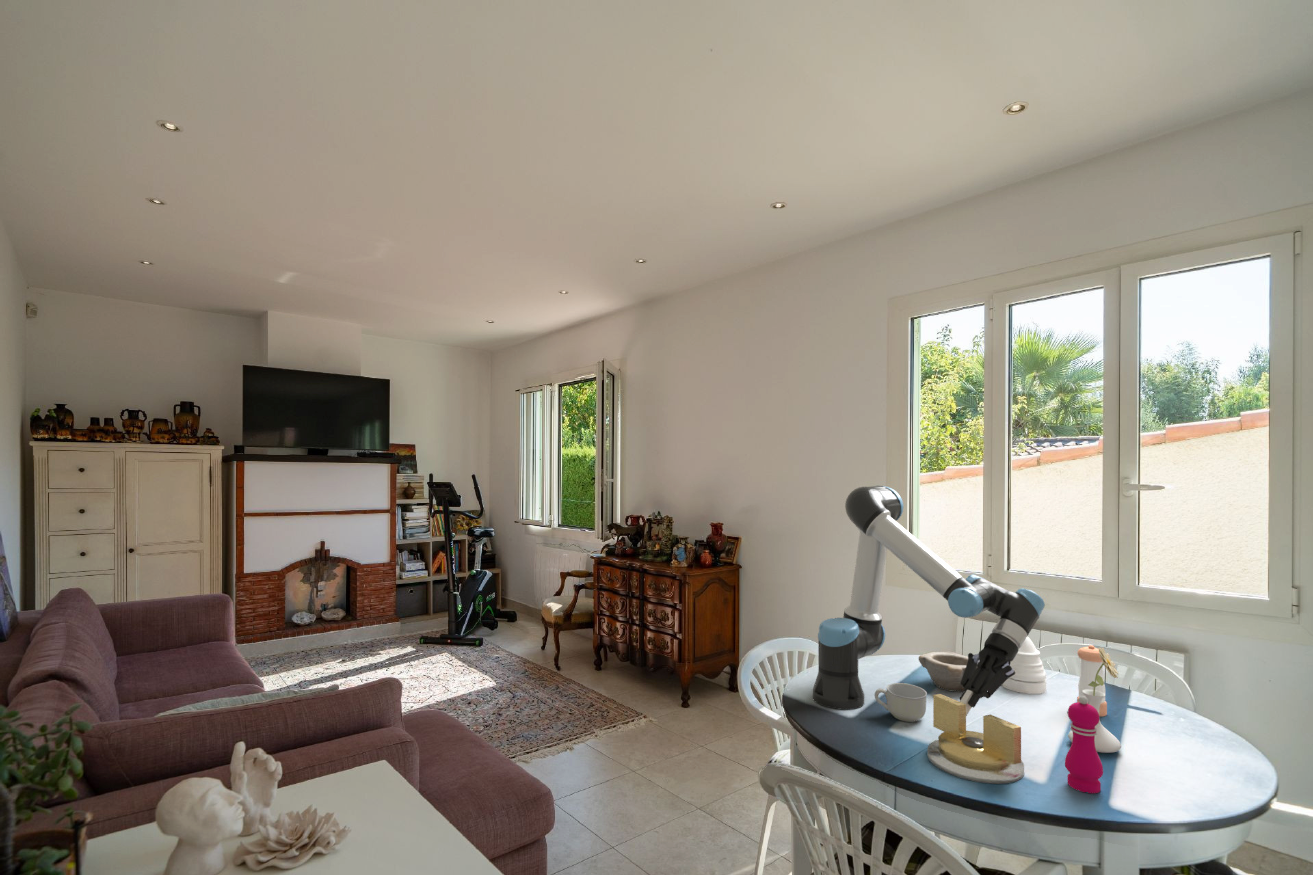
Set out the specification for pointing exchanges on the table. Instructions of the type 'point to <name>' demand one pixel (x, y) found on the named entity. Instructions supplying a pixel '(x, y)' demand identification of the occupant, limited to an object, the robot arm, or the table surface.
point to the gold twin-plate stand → (975, 737)
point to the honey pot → (1027, 671)
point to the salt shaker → (1091, 674)
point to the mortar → (945, 669)
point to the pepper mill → (1083, 748)
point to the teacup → (904, 701)
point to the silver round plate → (974, 769)
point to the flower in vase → (1104, 738)
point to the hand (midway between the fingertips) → (959, 714)
